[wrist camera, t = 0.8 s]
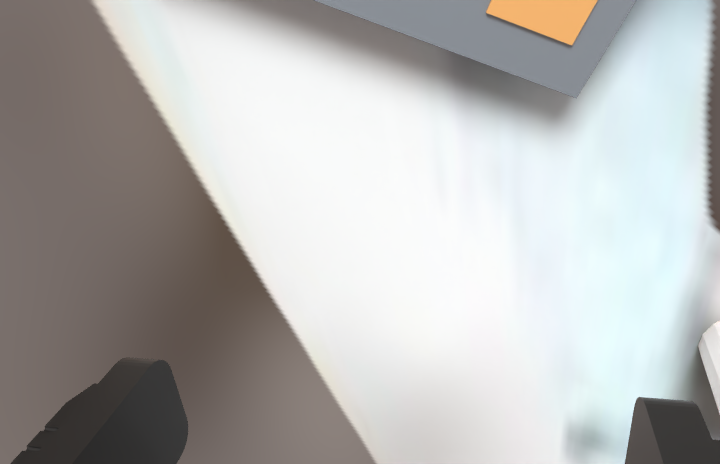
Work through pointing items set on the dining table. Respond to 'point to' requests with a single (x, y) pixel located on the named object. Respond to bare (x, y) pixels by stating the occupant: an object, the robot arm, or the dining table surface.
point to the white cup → (712, 358)
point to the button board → (508, 32)
